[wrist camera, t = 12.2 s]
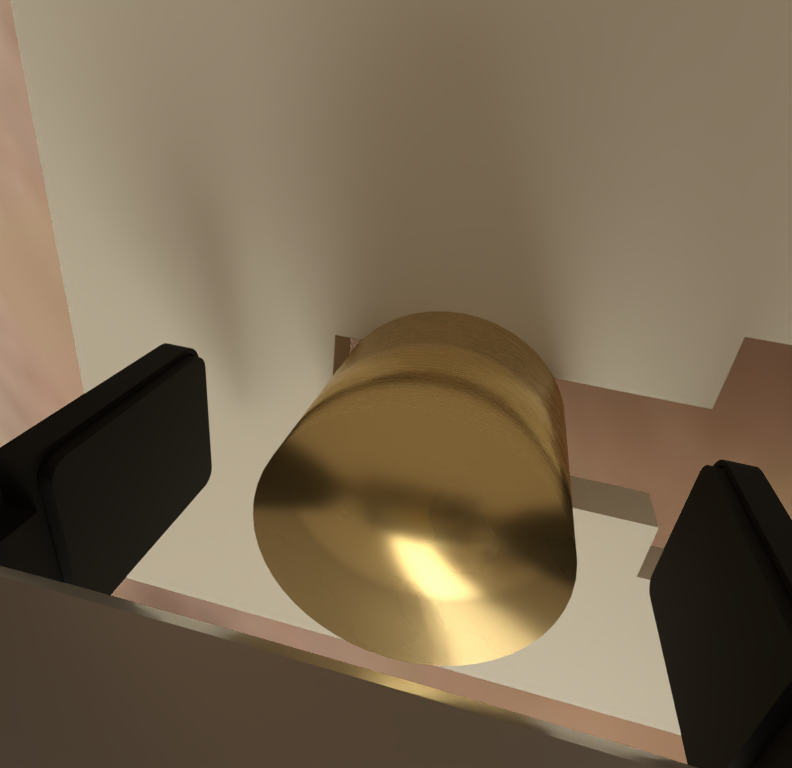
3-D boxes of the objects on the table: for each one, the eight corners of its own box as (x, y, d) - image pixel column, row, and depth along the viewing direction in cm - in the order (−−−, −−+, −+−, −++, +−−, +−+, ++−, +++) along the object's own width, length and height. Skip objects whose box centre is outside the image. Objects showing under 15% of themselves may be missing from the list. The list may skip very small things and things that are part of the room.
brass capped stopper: (574, 254, 16) (624, 457, 7) (535, 401, 18) (532, 698, 9) (407, 227, 17) (249, 377, 8) (390, 372, 19) (255, 619, 10)
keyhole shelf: (1190, 104, 14) (2222, 106, 5) (868, 553, 22) (1087, 850, 13) (255, 5, 18) (-7, -86, 9) (260, 416, 26) (118, 575, 17)
